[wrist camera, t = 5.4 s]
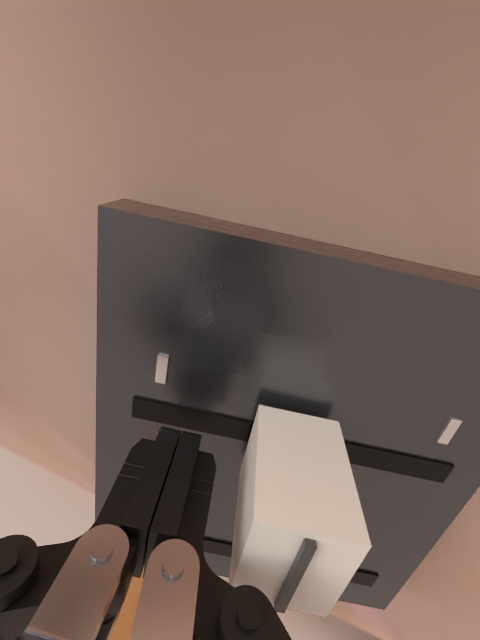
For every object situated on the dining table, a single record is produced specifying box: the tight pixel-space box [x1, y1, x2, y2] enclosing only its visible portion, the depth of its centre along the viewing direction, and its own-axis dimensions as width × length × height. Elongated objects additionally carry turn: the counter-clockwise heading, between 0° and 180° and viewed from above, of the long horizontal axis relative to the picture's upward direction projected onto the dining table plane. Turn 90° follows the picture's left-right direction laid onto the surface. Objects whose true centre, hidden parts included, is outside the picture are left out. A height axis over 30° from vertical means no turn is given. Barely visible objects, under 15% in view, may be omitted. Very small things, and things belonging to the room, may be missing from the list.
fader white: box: [229, 405, 372, 617], centre depth 11 cm, size 4×3×5 cm
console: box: [95, 199, 480, 610], centre depth 15 cm, size 18×16×2 cm
